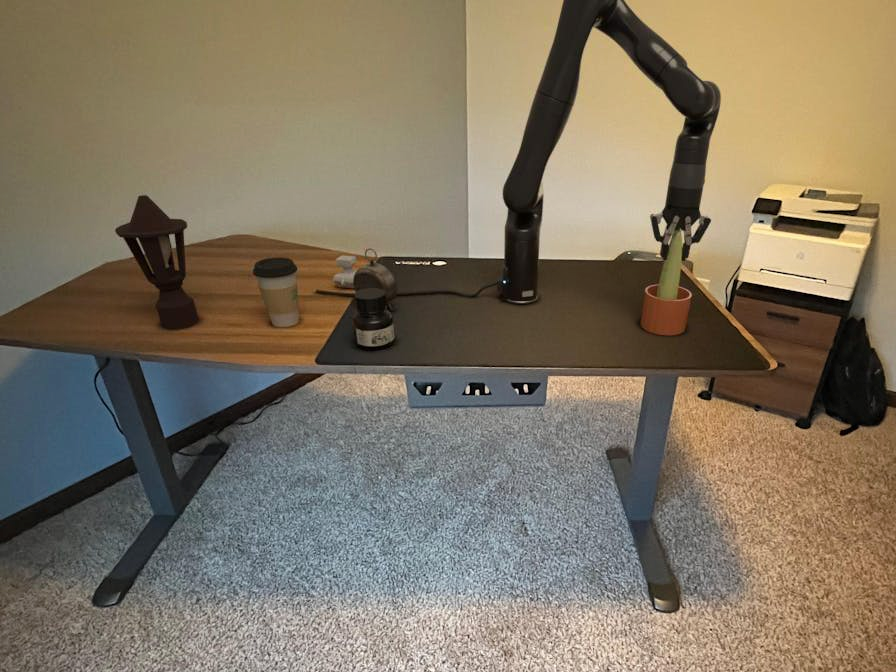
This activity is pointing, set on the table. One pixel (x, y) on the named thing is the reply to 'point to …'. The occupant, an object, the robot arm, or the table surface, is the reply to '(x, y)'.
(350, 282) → the stamp
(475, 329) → the table surface
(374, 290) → the ink bottle
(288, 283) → the coffee cup
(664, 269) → the tube
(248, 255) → the table surface
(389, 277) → the alarm clock
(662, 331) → the pen cup
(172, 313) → the lantern
